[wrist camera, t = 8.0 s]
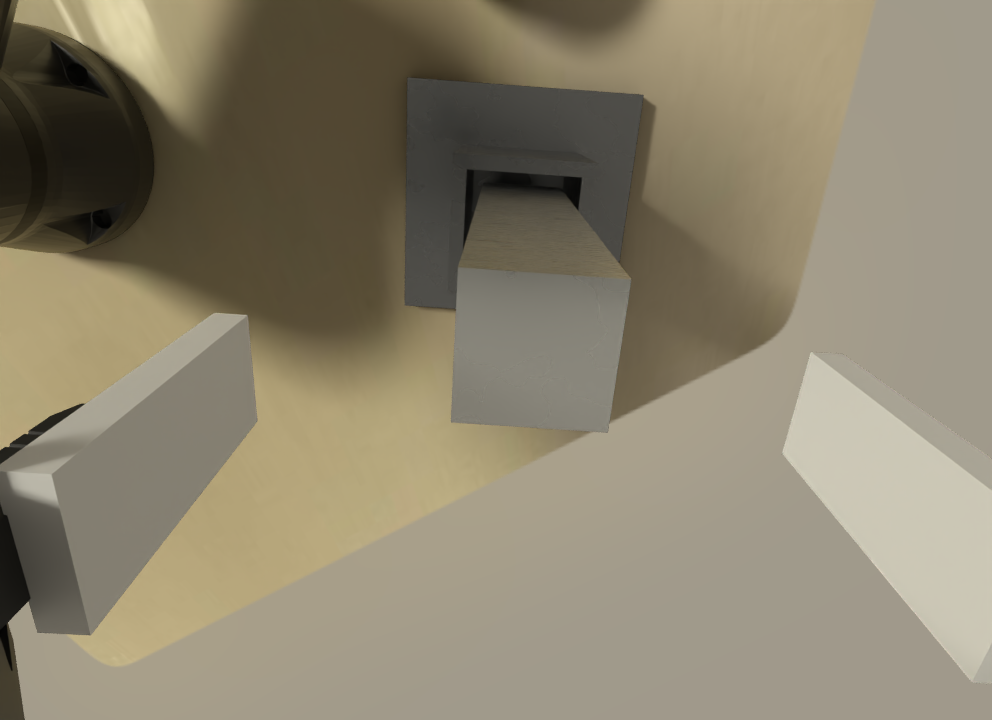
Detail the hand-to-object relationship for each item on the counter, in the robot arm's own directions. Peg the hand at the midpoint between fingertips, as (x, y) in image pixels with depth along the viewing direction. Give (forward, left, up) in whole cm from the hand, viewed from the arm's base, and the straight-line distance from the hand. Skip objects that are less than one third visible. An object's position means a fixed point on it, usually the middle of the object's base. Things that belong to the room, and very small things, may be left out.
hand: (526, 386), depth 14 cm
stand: (0, 0, -33) cm, 33 cm away
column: (0, -1, -25) cm, 25 cm away
